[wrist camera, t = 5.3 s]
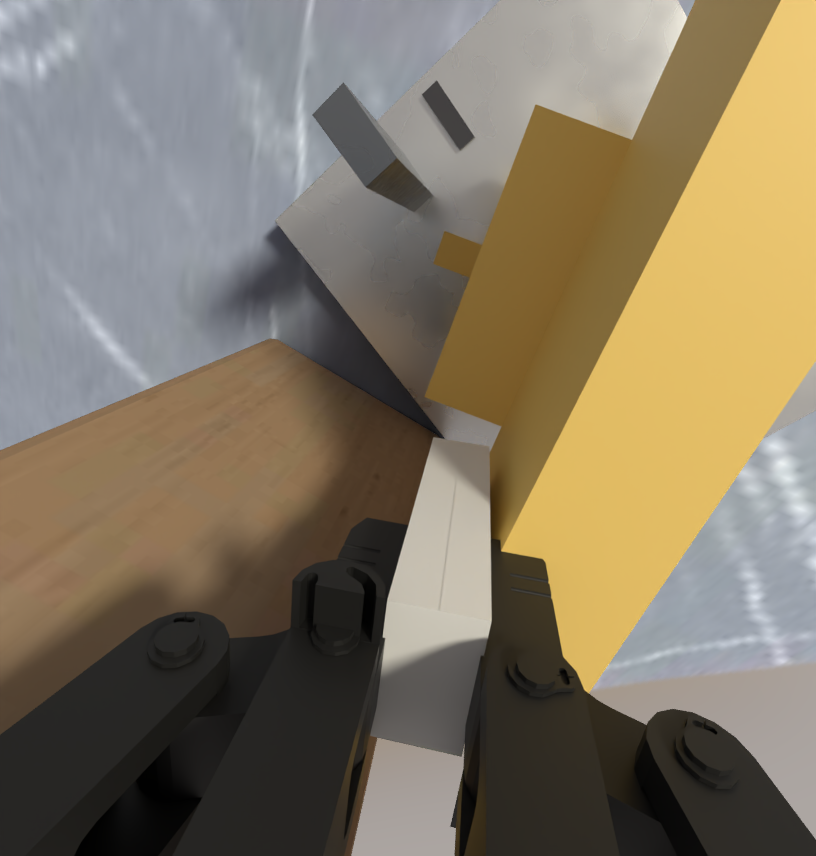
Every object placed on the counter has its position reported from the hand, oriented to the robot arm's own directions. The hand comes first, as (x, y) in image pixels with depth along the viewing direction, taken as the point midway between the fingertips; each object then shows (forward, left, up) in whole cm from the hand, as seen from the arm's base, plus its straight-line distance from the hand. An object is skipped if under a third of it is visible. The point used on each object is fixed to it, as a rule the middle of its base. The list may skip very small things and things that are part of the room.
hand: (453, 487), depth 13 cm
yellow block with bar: (-1, +6, -8) cm, 10 cm away
